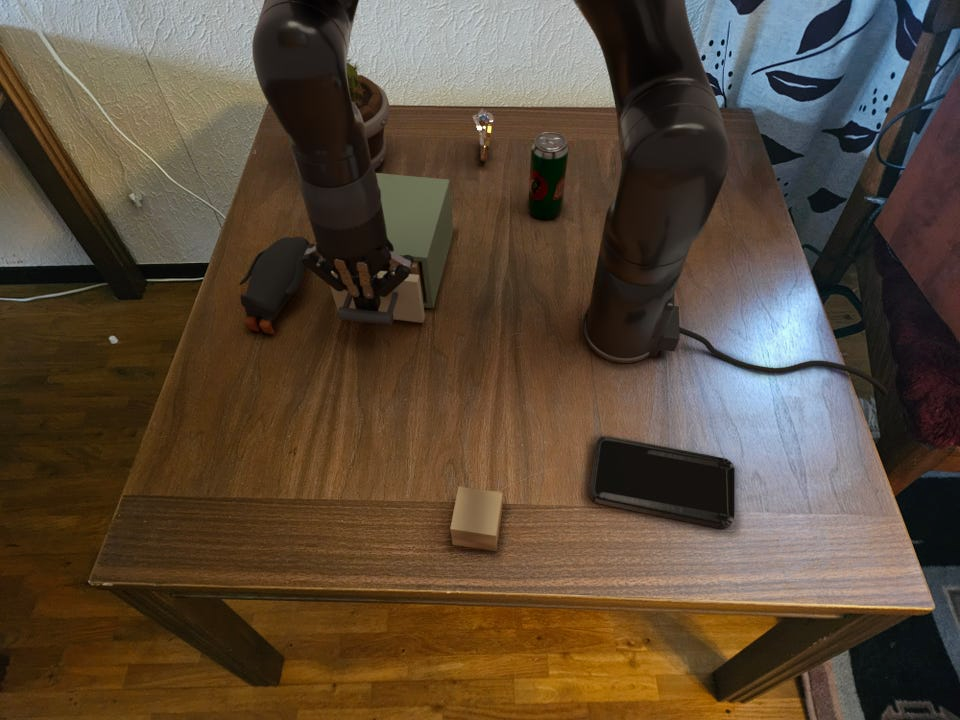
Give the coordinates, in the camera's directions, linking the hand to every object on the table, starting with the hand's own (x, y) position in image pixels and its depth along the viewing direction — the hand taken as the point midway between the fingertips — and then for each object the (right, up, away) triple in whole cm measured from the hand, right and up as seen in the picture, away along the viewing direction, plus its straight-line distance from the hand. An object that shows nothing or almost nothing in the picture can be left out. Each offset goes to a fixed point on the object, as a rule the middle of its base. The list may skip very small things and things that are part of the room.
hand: (370, 310), depth 78 cm
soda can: (+23, +16, +17) cm, 33 cm away
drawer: (+1, +3, +7) cm, 8 cm away
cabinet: (+2, +7, +11) cm, 14 cm away
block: (+13, -24, -11) cm, 29 cm away
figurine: (-13, +3, +9) cm, 16 cm away
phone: (+33, -20, -8) cm, 40 cm away
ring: (+14, +27, +25) cm, 39 cm away
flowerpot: (-7, +26, +25) cm, 36 cm away
